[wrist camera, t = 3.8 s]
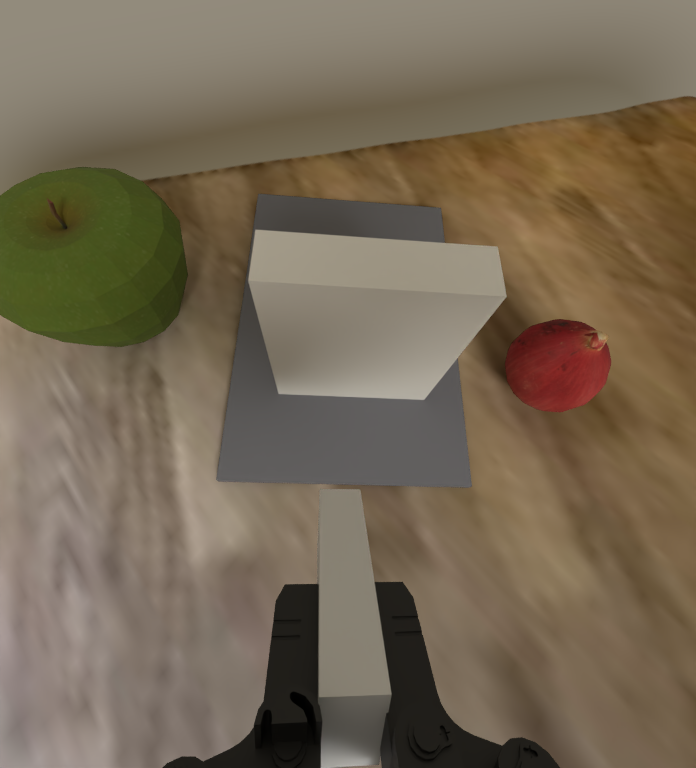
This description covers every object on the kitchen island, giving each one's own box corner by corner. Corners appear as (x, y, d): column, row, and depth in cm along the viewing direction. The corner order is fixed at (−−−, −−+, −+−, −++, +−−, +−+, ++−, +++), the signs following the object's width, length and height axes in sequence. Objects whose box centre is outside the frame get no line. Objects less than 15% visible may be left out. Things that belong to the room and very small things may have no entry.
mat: (468, 487, 24) (471, 486, 23) (218, 481, 23) (216, 480, 22) (438, 213, 33) (440, 207, 33) (259, 199, 32) (258, 193, 32)
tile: (424, 399, 25) (506, 296, 14) (278, 394, 25) (248, 280, 14) (421, 364, 27) (496, 242, 15) (281, 357, 26) (256, 224, 15)
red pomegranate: (472, 363, 28) (529, 300, 20) (537, 344, 29) (614, 278, 21) (508, 435, 26) (586, 395, 18) (576, 412, 27) (676, 365, 19)
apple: (165, 234, 30) (97, 101, 21) (240, 322, 27) (202, 215, 18) (29, 303, 27) (-122, 181, 17) (101, 410, 24) (-32, 333, 15)
